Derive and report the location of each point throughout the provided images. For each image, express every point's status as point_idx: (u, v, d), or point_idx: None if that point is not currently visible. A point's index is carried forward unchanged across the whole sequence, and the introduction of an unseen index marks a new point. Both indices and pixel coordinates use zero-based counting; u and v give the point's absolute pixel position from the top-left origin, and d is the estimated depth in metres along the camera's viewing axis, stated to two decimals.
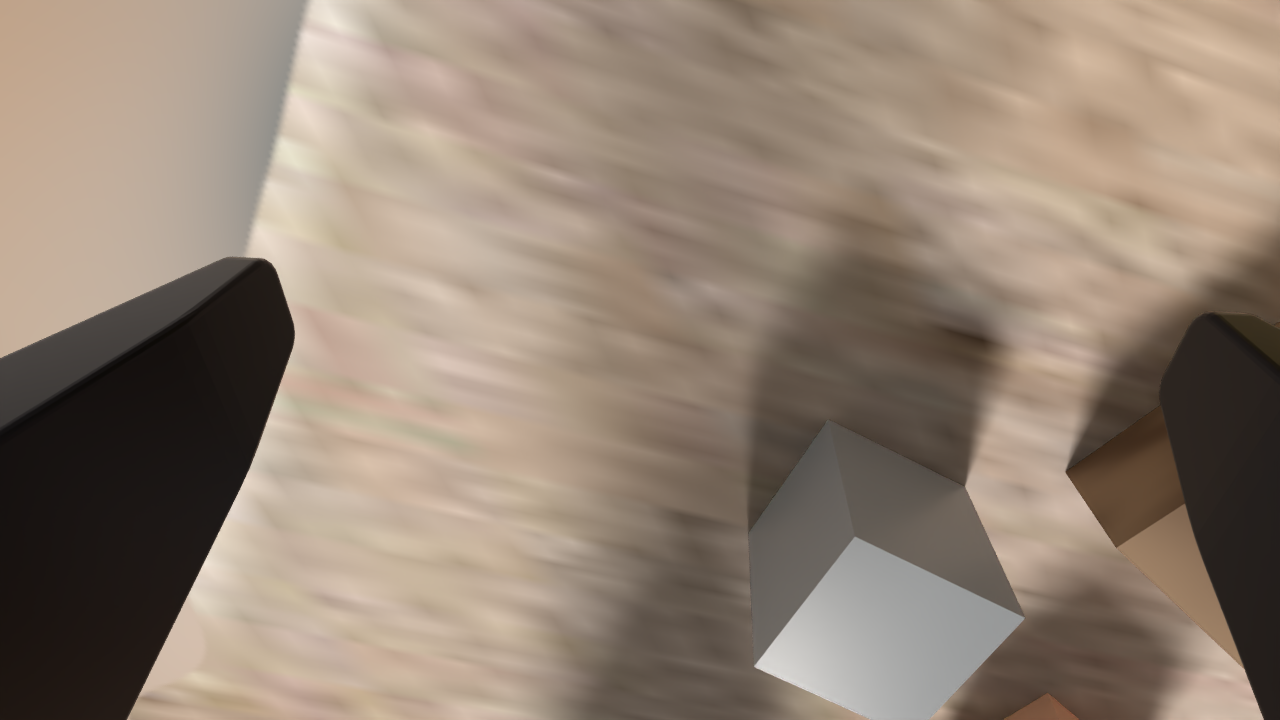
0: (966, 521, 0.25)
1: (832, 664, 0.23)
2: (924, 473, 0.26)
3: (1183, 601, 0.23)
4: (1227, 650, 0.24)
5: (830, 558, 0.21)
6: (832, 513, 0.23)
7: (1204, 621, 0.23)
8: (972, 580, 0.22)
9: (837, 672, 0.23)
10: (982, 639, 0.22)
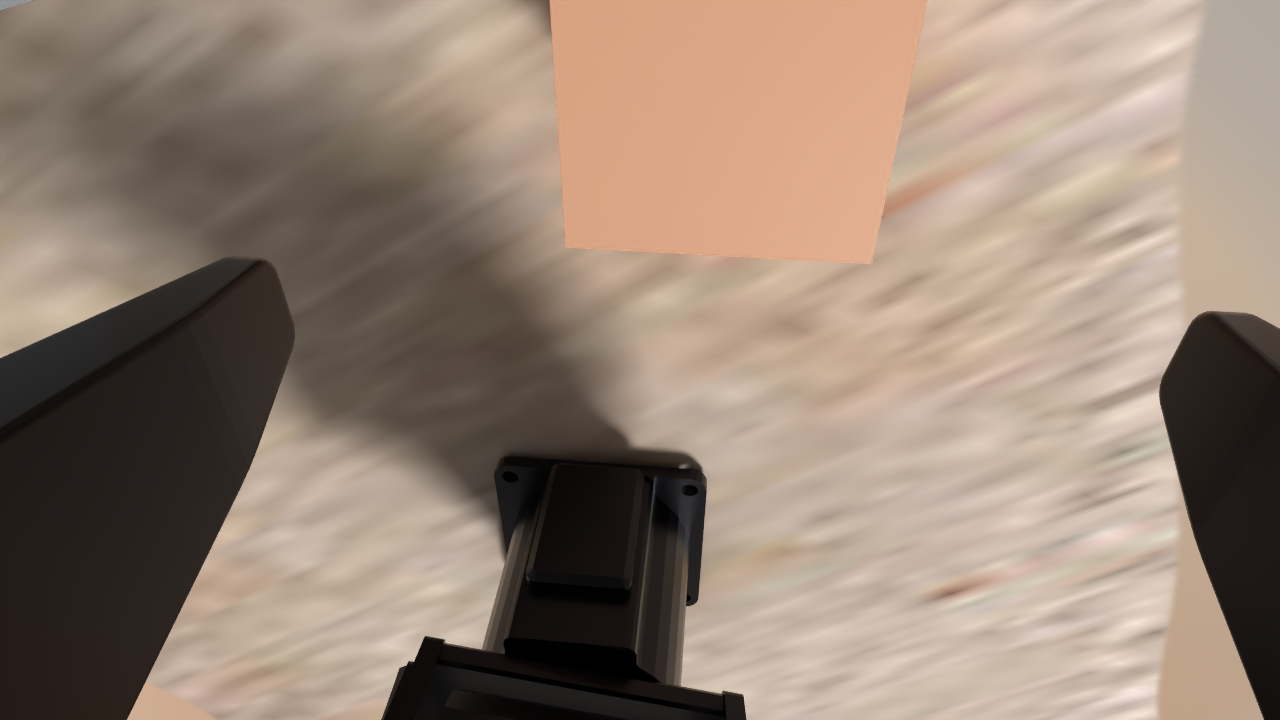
0: None
1: None
2: None
3: None
4: None
5: None
6: None
7: None
8: None
9: None
10: None
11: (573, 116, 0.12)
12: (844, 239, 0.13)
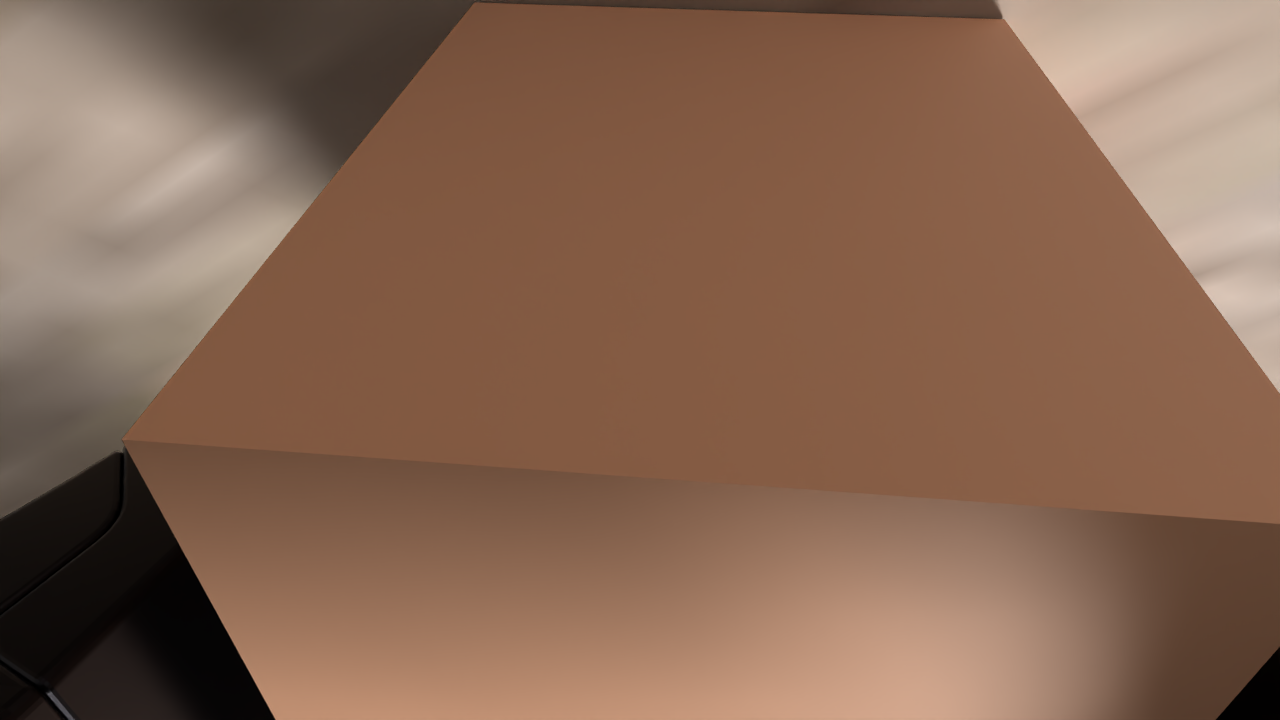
0: None
1: None
2: None
3: None
4: None
5: None
6: None
7: None
8: None
9: None
10: None
11: None
12: None
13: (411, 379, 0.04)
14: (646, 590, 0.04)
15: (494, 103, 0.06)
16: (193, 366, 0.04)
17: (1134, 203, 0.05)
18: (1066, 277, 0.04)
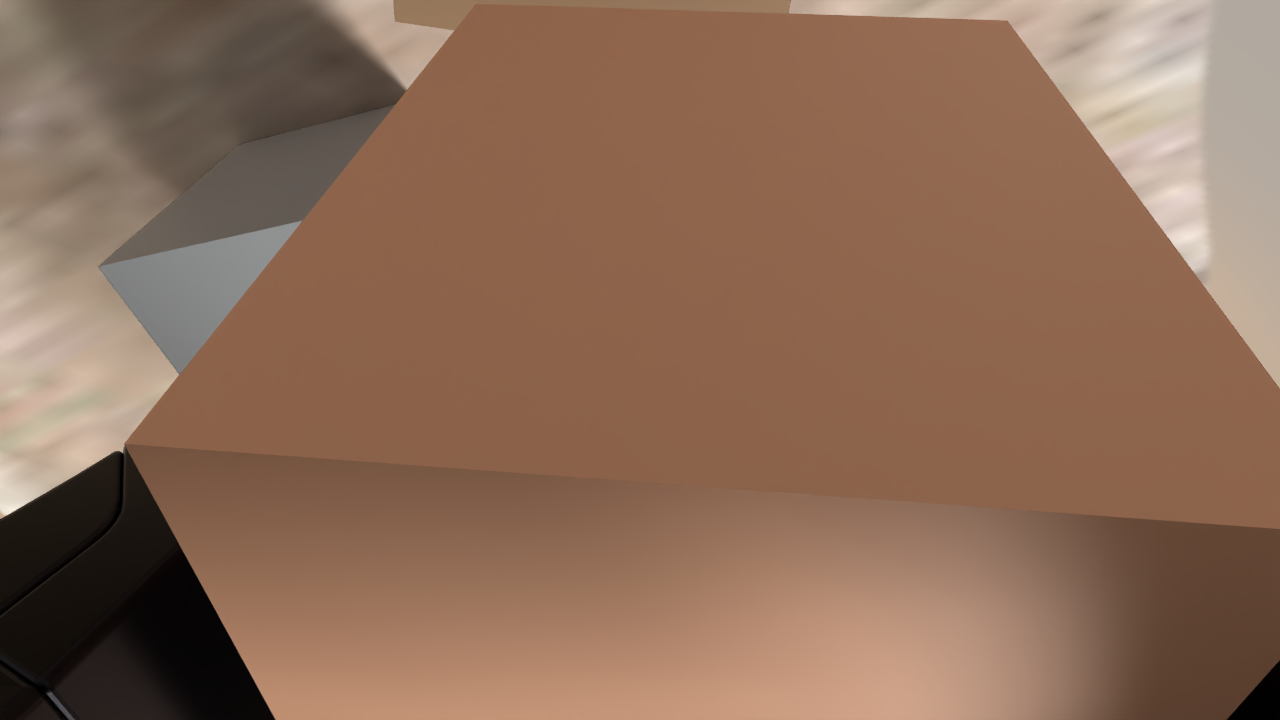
0: (358, 144, 0.19)
1: None
2: (348, 122, 0.20)
3: None
4: None
5: (137, 300, 0.18)
6: None
7: None
8: (265, 217, 0.16)
9: None
10: None
11: None
12: None
13: (417, 386, 0.04)
14: (650, 596, 0.04)
15: (496, 104, 0.06)
16: (197, 370, 0.04)
17: (1140, 206, 0.05)
18: (1072, 281, 0.04)
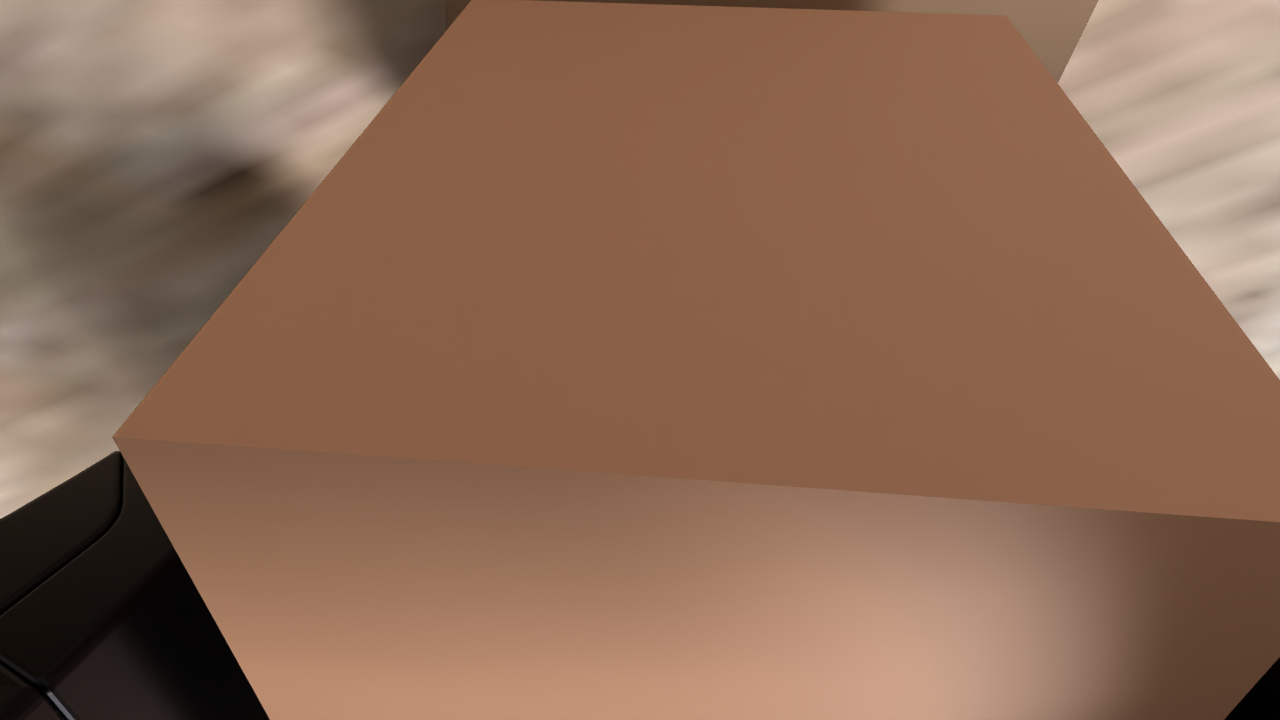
0: None
1: None
2: None
3: None
4: None
5: None
6: None
7: None
8: None
9: None
10: None
11: None
12: None
13: (405, 377, 0.04)
14: (644, 589, 0.04)
15: (489, 99, 0.06)
16: (188, 364, 0.04)
17: (1139, 200, 0.05)
18: (1070, 274, 0.04)
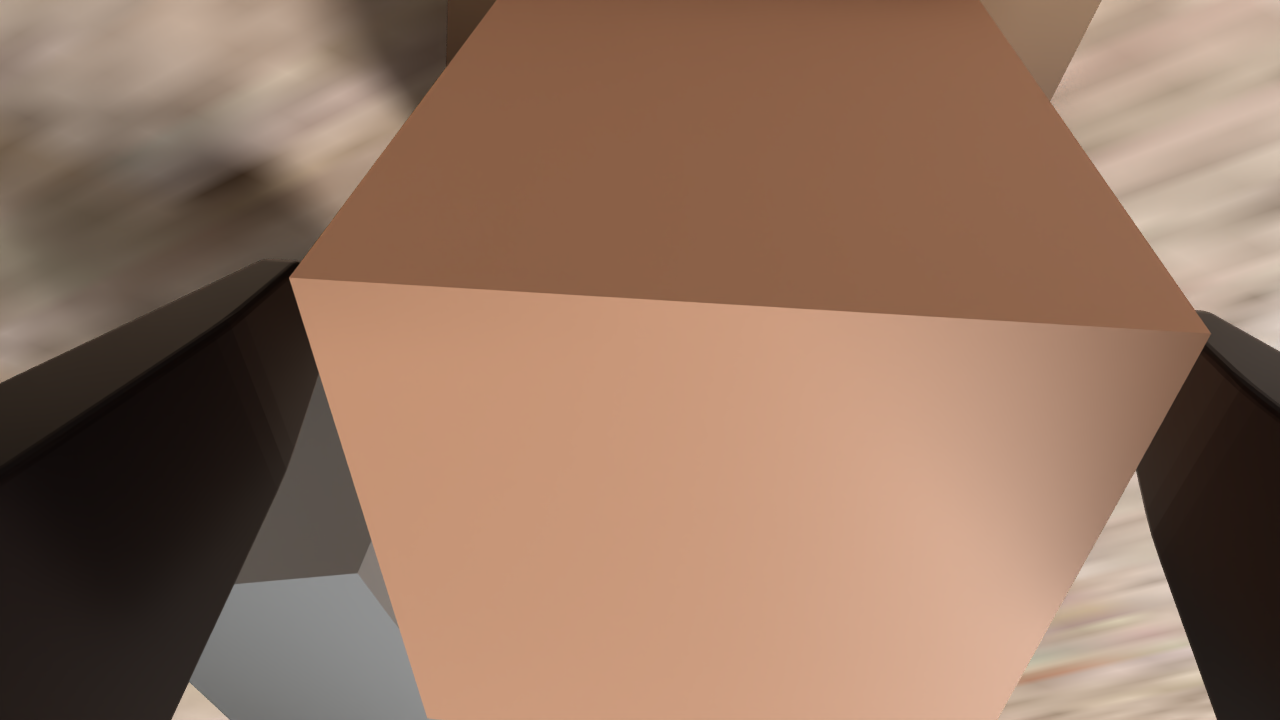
0: None
1: (297, 708, 0.16)
2: None
3: None
4: None
5: None
6: None
7: None
8: (296, 549, 0.14)
9: (314, 712, 0.16)
10: (363, 617, 0.14)
11: (412, 572, 0.06)
12: None
13: (498, 243, 0.05)
14: (676, 404, 0.05)
15: (539, 55, 0.07)
16: (331, 235, 0.05)
17: (1065, 131, 0.06)
18: (1003, 180, 0.06)
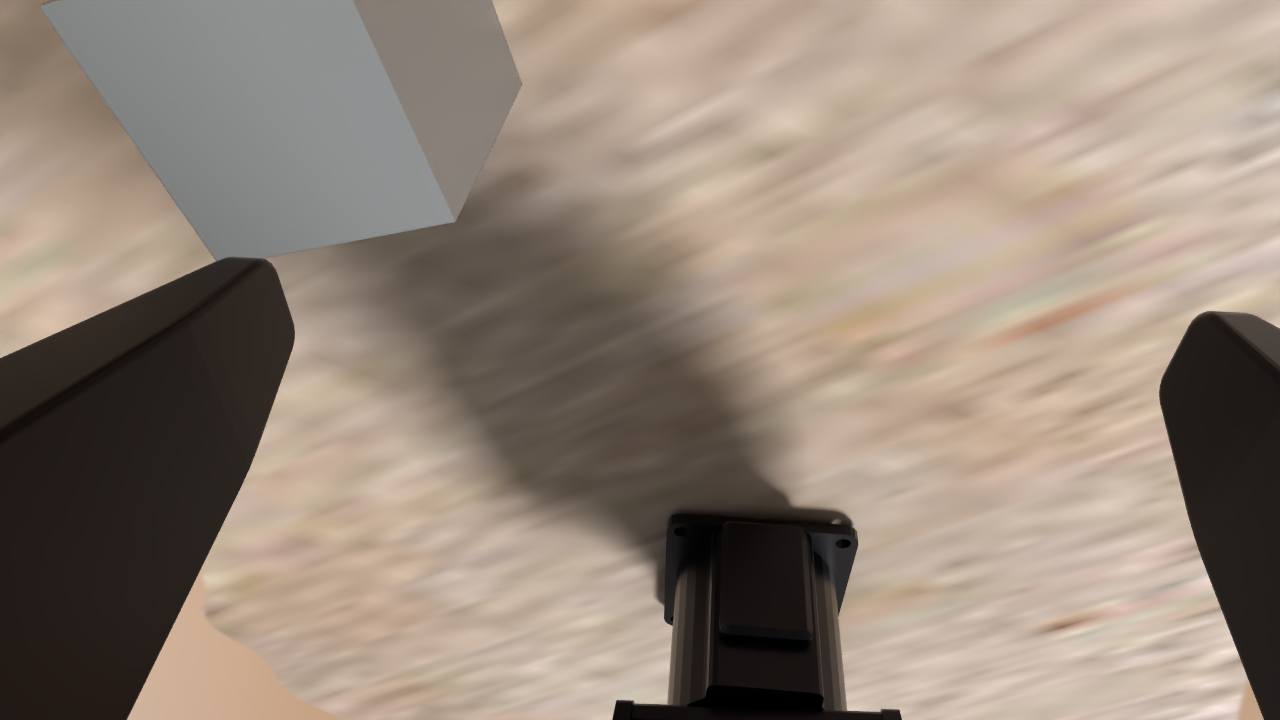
0: None
1: (264, 198, 0.15)
2: None
3: None
4: None
5: (93, 62, 0.14)
6: None
7: None
8: None
9: (281, 204, 0.15)
10: (327, 10, 0.13)
11: None
12: None
13: None
14: None
15: None
16: None
17: None
18: None
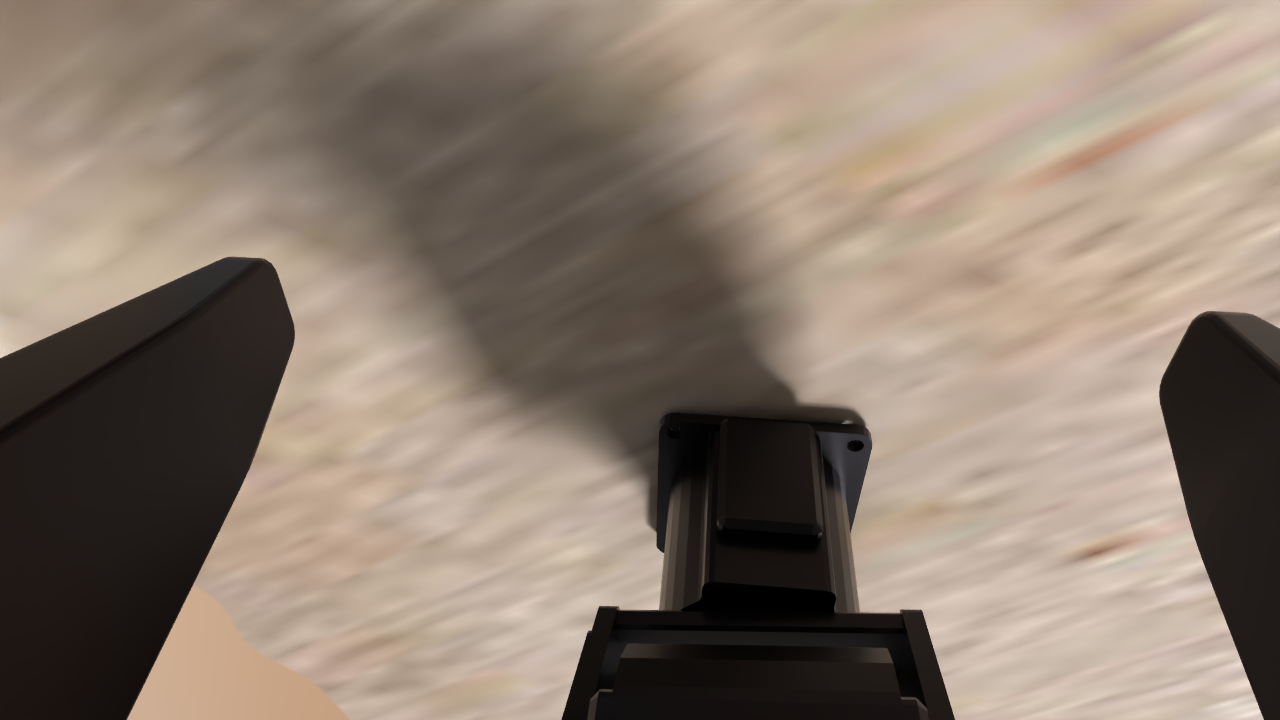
0: None
1: None
2: None
3: None
4: None
5: None
6: None
7: None
8: None
9: None
10: None
11: None
12: None
13: None
14: None
15: None
16: None
17: None
18: None
